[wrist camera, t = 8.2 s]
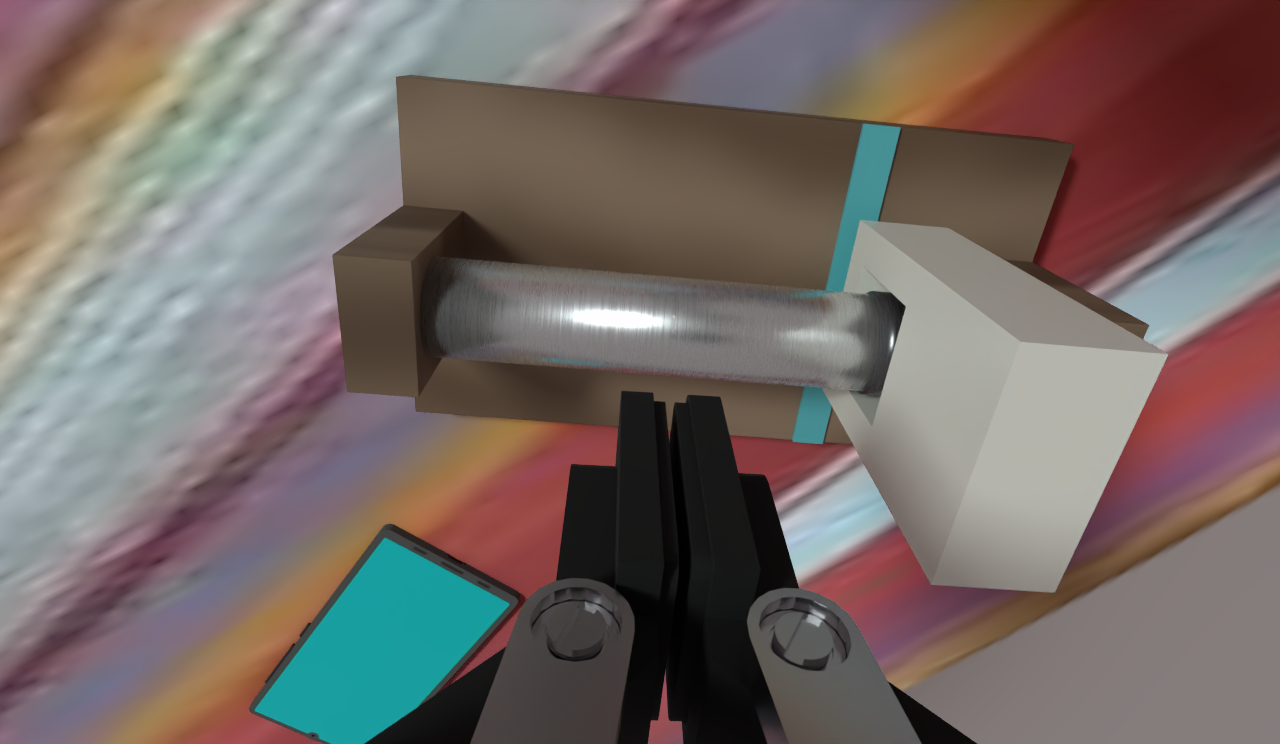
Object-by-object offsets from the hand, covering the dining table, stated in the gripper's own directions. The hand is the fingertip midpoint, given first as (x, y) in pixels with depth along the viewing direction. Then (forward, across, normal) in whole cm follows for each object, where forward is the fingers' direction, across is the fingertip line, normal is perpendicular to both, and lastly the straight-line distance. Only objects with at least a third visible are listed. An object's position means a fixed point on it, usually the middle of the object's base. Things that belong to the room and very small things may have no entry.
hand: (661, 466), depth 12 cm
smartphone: (+14, +12, +23) cm, 29 cm away
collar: (+12, -8, +2) cm, 15 cm away
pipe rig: (+15, -3, +2) cm, 15 cm away
